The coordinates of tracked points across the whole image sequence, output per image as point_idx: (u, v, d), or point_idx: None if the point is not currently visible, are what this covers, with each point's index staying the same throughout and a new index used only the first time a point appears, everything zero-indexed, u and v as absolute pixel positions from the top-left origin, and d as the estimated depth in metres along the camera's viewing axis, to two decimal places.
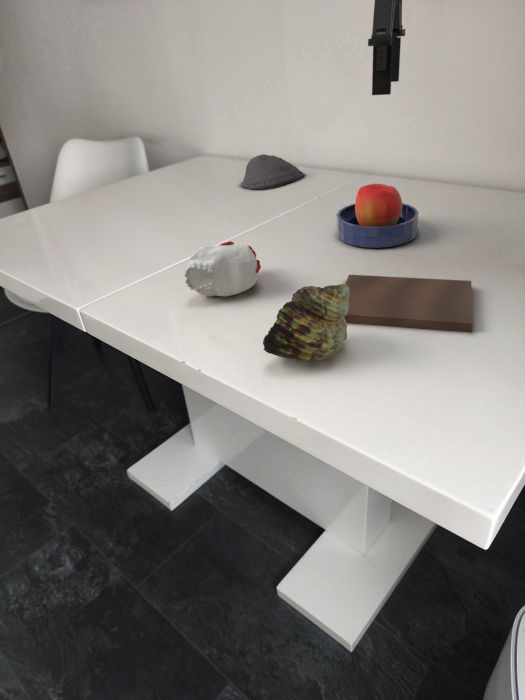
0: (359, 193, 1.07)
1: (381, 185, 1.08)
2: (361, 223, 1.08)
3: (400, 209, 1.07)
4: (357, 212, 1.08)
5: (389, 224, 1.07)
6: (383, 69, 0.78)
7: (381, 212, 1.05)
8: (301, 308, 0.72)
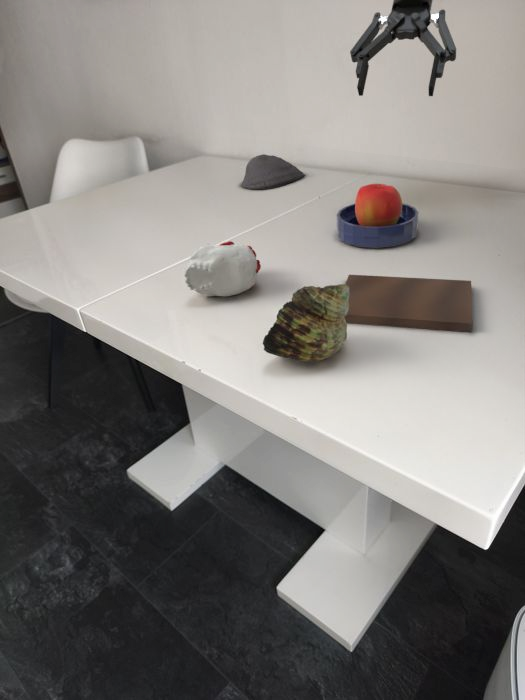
0: (359, 193, 1.07)
1: (381, 185, 1.08)
2: (361, 223, 1.08)
3: (400, 209, 1.07)
4: (357, 212, 1.08)
5: (389, 224, 1.07)
6: (356, 74, 1.07)
7: (381, 212, 1.05)
8: (301, 308, 0.72)
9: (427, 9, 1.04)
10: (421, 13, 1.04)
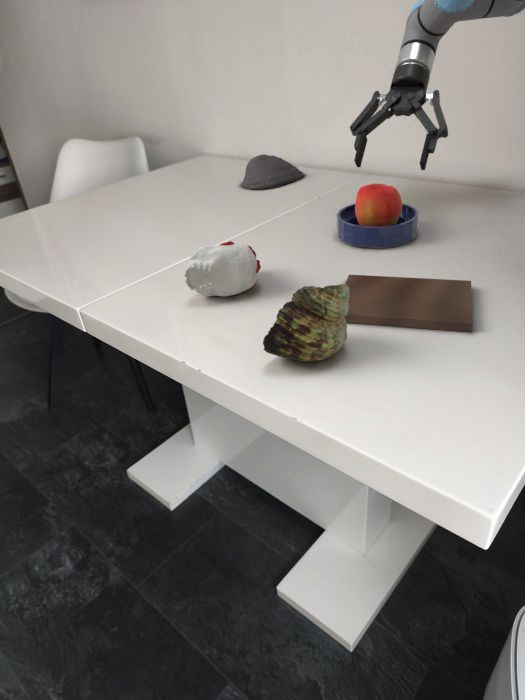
0: (359, 193, 1.07)
1: (381, 185, 1.08)
2: (361, 223, 1.08)
3: (400, 209, 1.07)
4: (357, 212, 1.08)
5: (389, 224, 1.07)
6: (354, 147, 1.15)
7: (381, 212, 1.05)
8: (301, 308, 0.72)
9: (422, 89, 1.11)
10: (416, 92, 1.11)
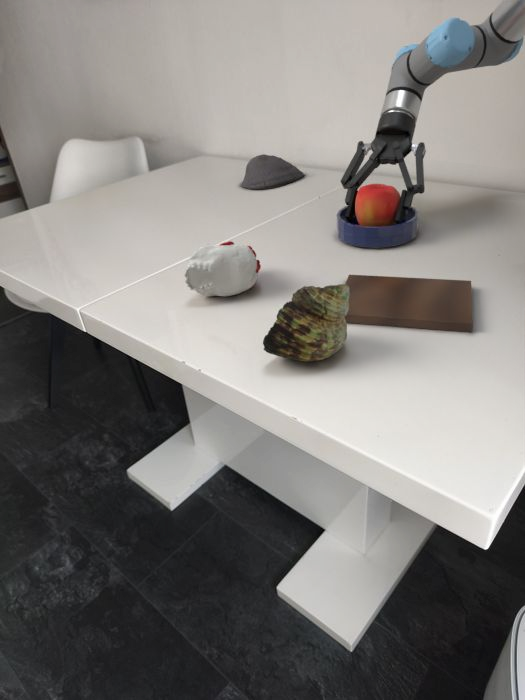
0: (359, 193, 1.07)
1: (381, 185, 1.08)
2: (361, 223, 1.08)
3: None
4: (357, 212, 1.08)
5: (389, 224, 1.07)
6: None
7: (381, 212, 1.05)
8: (301, 308, 0.72)
9: (408, 137, 1.08)
10: (402, 141, 1.08)
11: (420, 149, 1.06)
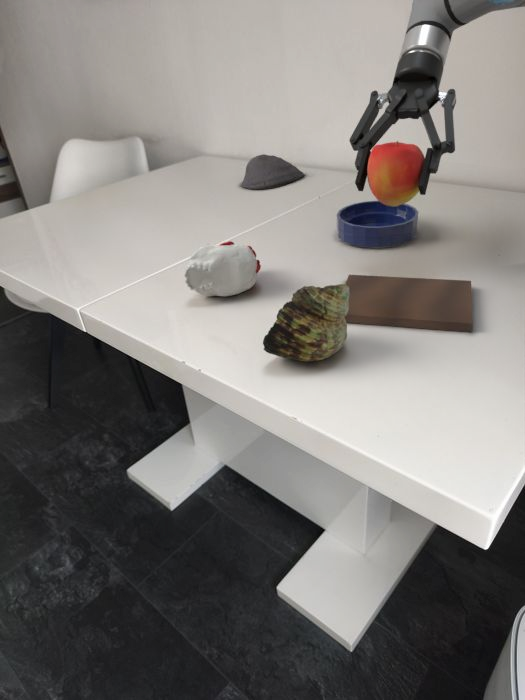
0: (373, 153, 0.85)
1: (400, 143, 0.87)
2: (375, 191, 0.87)
3: None
4: (370, 177, 0.86)
5: (410, 192, 0.86)
6: None
7: (401, 176, 0.83)
8: (301, 308, 0.72)
9: (434, 84, 0.86)
10: (427, 89, 0.86)
11: (450, 97, 0.84)
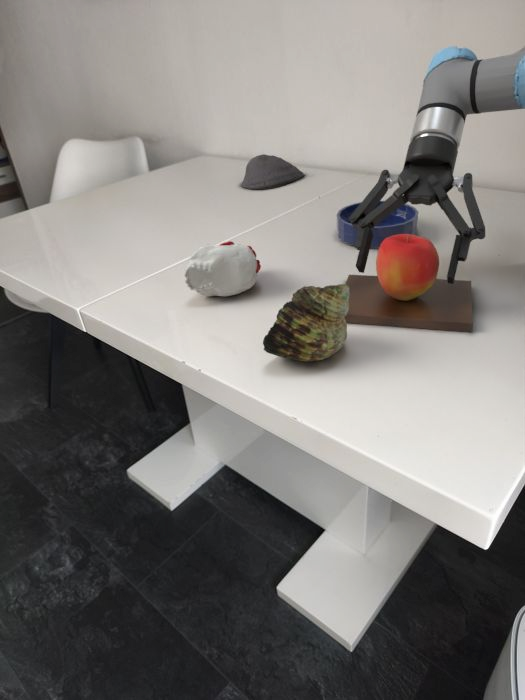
0: (383, 248, 0.80)
1: (411, 236, 0.81)
2: (385, 287, 0.82)
3: (437, 269, 0.80)
4: (380, 273, 0.81)
5: (422, 289, 0.81)
6: None
7: (413, 275, 0.78)
8: (301, 308, 0.72)
9: (449, 170, 0.81)
10: (440, 175, 0.81)
11: (468, 182, 0.79)
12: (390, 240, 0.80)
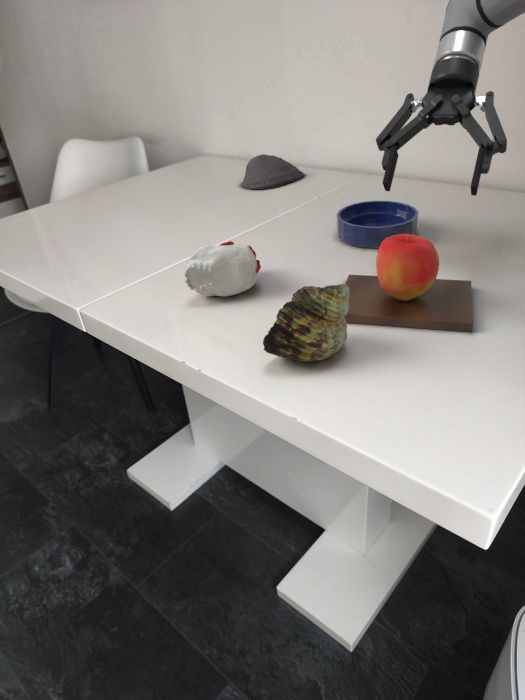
0: (383, 248, 0.80)
1: (411, 236, 0.82)
2: (385, 287, 0.82)
3: (437, 269, 0.80)
4: (380, 272, 0.81)
5: (422, 289, 0.81)
6: (382, 166, 0.89)
7: (413, 274, 0.78)
8: (301, 308, 0.72)
9: (471, 90, 0.86)
10: (463, 95, 0.86)
11: (490, 99, 0.84)
12: (390, 240, 0.80)
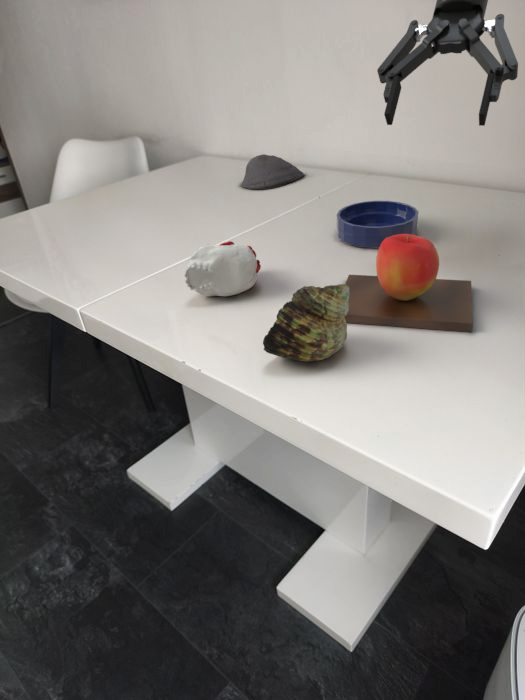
0: (383, 248, 0.80)
1: (411, 236, 0.82)
2: (385, 287, 0.82)
3: (437, 269, 0.80)
4: (380, 272, 0.81)
5: (422, 289, 0.81)
6: (384, 97, 0.84)
7: (413, 274, 0.78)
8: (301, 308, 0.72)
9: (480, 14, 0.80)
10: (471, 19, 0.80)
11: (500, 23, 0.78)
12: (390, 240, 0.80)
